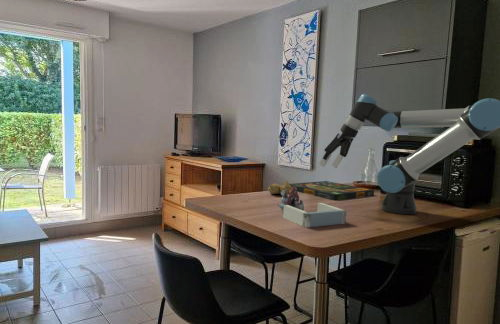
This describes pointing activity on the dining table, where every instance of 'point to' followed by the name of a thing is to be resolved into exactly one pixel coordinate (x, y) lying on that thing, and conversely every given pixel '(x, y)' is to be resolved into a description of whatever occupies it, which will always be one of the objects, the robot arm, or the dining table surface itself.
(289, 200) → the brake caliper
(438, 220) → the dining table surface
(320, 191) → the pizza box
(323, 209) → the cradle
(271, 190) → the ginger root
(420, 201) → the dining table surface
